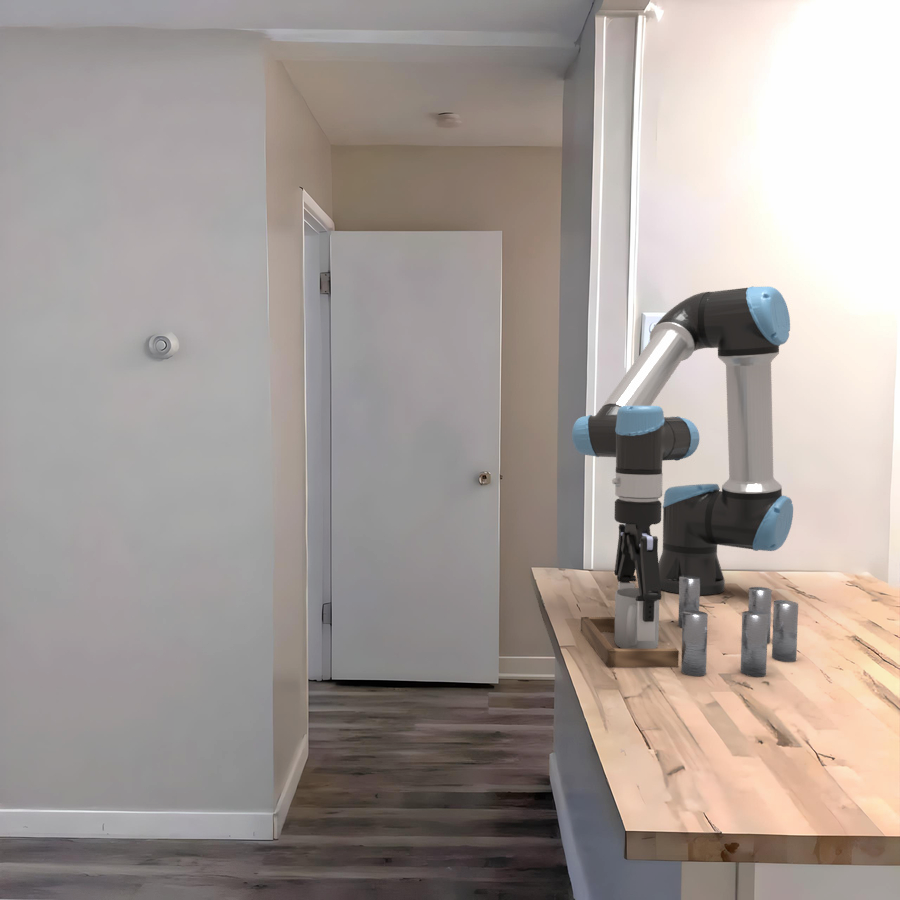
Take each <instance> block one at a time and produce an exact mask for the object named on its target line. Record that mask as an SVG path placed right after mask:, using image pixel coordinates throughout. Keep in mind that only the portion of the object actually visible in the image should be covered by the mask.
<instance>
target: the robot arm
mask: <svg viewBox="0 0 900 900" xmlns="http://www.w3.org/2000/svg"><path fill="white" fill-rule="evenodd" d="M790 317H791V316H790V313H789V309H788V304H787V302H786V301H785V298H784V297H783V294H782V293H781V292H780V291H779V290H778V289H777V288H775V287H773V286H749V287H740V288H734V289H723V290H716V291H706V292H705V291H703V292H698V293H697V294H693V295H692V296H689V297H687V298H686V299H684V300H682V301H680V302H679V303H678V304H676V305H675V306H673V307H672V308H670V310H668V311H667V312H666V313H665V314H664V315H663V316H662V317H661V318H660V319H659V320H658V322H657V323H656V324H655V325H654V327H652V330H651V331H650V334H649V342H648V343H647V344H646V345H645V347H644V349H643V350H642V351H641V353H640V355H638V357H637V359H636V360H635V361H634V363H633V364H632V365H631V367H630V368H629V369H628V371H627V372H626V373H625V375H624V376H623V377H622V378H621V380H620V381H619V383H618V384H617V386H616V387H615V389H614V390H613V391H612V393H610V395H609V396H608V398H607V400H606V401H605V402H604V404H603V405H602V407H601V408H600V409H599V410H598V412H597V413H596V414H595V415H591V414H589V415H585V416H581V417H579V418H578V419H576V420H575V422H574V424H573V426H572V429H571V430H572V431H571V432H572V433H571V440H572V444H573V445H574V448H575V450H576V452H578V453H579V454H580V455H584V456H590V457H591V456H592V457H596V458H599V457H600V458H615V478H613V479H612V480H611V481H612V484H613V485H614V486H615V496H616V497H618V498H617V499H615V501H614V520H615V521H616V522H617V523H619V525H618V541H617V549H616V556H615V564H614V575H615V576H616V580H617V590H619V589H623V588H636V587H635V586H636V585H635V582H637V588H639V594H640V596H637V597H636V601H638V607H637V640H638V641H655V617H656V601H657V600H659V601H660V600H662V591H666V592H669V593H675V594H679V577H680V576H695V577H699V578H700V596H704V595H705V596H706V595H708V596H710V595H717V594H720V593H723V592H724V591H725V585H726V584H725V583H726V582H725V577H724V573H723V570H722V568H721V564H720V561H719V558H718V546H725V547H731V548H739V549H748V550H753V551H756V552H757V551H762V552H765V551H766V552H775V551H777V550H778V549H780V548H781V547H782V546H783V545H784V543H785V542H786V540H787V538H788V537H789V533H790V530H791V528H792V524H793V523H792V522H793V517H794V504H793V501H792V499H791V498H790V497H788V496H787V495H783V493H782V492H783V490H782V487H783V486H782V484H781V483H780V482H778V481H777V480H776V479H775V477H774V447H773V445H774V442H773V396H772V395H773V393H772V387H773V386H772V385H773V384H772V362H773V361H774V359H776V357H777V356H778V355H779V354H780V346H781V345H784V344H785V343H787V342H788V340H789V337H790V331H791V320H790ZM701 349H702V350H703V349H717V358H718V359H719V360H720V361H721V362H722V363H723V364H724V366H725V374H726V375H725V378H726V382H725V383H726V411H727V412H726V413H727V417H726V418H727V443H728V444H727V447H728V449H727V450H728V474H729V475H728V476H729V477H728V479H727V480H726V481H725V482H723V484H722V486H721V490H720V485H719V484H718V483H701V484H688V485H687V484H686V485H678V486H677V485H676V486H670V487H669V488H667V489H666V490H665V492H664V494H663V474H664V473H663V461H664V462H665V461H680V460H683V459H686V458H689V457H690V456H692V455H693V454H694V453H695V452H696V450H698V447H699V444H700V433H699V430H698V427H697V426H696V424H695V423H694V422H693V421H691V420H690V419H687V418H685V417H680V416H668V417H667V416H664V415H665V414H664V410H663V408H662V407H661V406H660V405H653V404H654V402H655V400H656V399H657V398H658V396H659V395H660V393H661V391H662V390H663V389H664V387H665V386H666V384H667V382H668V381H670V380H669V379H670V378H671V377H672V376H673V374H674V372H675V371H676V370H677V367H679V366H680V363H681V362H683V361H685V360H688V359H689V358H690V357H691V356H692V355H693V353H694V352H695V351H698V350H701ZM662 496H663V505H662V502H661V500H659V499H660V498H661V497H662ZM662 510H663V511H662ZM662 512H663V515H662ZM662 517H663V518H662ZM662 519H663V520H662ZM661 521H662V525H663V526H662V551H661V555H660V557H659V555H658V553H659V551H658V546H659V545H658V544H659V543H658V542H659V538H658V536H656V535H655V536H653V535H652V534H651V526H652V525H659V524H660V523H661ZM635 573H636V575H635ZM649 591H651V592H649Z"/></svg>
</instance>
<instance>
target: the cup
mask: <svg viewBox="0 0 900 900" xmlns="http://www.w3.org/2000/svg"><path fill="white" fill-rule="evenodd" d="M649 592H651V591H649ZM637 596H640V594H639V587H635V588H623V589H619V590H618V589H617V590H615V591H614V617H615V632H614V636H613V637H614V644H615V645H616V647H618V648H619V647H620V648H619V649H655V648H658V646H659V633H660V632H659V631H660V630H659V624H660V621H659V619H660V600H657V601H656V617H655V641H638V640H637V607H638V601H636V597H637Z"/></svg>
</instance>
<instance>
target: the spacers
mask: <svg viewBox="0 0 900 900" xmlns="http://www.w3.org/2000/svg"><path fill="white" fill-rule="evenodd" d="M772 591H773V590H772V589H770V588H768V587H762V586H751V587H749V588H748V609H747V610H745V611H743V612H741V638H740V639H741V642H740V643H741V644H740V646H741V647H740V673H741V674H743V675H744V676H748V677H755V678H762V677H763V678H764V677H765V676H766V675H767V660H768V659H767V658H768V655H767V654H768V644H770V643H772V644H771V645H772V646H771V657H772V659H774V660H775V661H779V662H784V663H786V662H787V663H793V662H797V652H798V651H797V649H798V647H797V646H798V625H799V624H798V621H799V603H798V602H796V601H793V600H787V599H777V600H774V601H773V611H772ZM700 596H701V595H700V578H699V577H695V576H680V577H679V593H678V617H677V618H678V621H677V622H678V625H677V626H678V627H680V628H681V660H680V661H681V662H680V663H681V667H680V671H681V673H682V674H684V675H687V676H690V677H691V676H692V677H704V676H706V674H707V659H708V658H707V656H708V655H707V653H708V651H707V650H708V621H709V619H708V613H706V612H704V611H701V610H700V598H701V597H700ZM772 613H773V614H772ZM772 615H773V616H772ZM771 617H773V618H771ZM771 619H772V620H771ZM771 622H772V626H771ZM771 627H772V642H771Z"/></svg>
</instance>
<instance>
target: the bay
mask: <svg viewBox="0 0 900 900" xmlns="http://www.w3.org/2000/svg"><path fill="white" fill-rule="evenodd" d="M580 632H582V634H583V635H584V637H585V638H586V640H587V639H588V640H587V641H588V643H591V644H590V645H591V646H592V648H593V647H594V648H593V649H594V650H595V652H596V651H597V652H596V653H597V655H598V656H599V657H600V658H601V660H602V661H603V663H604V664H605V666H606V667H607V668H665V667H666V668H668V667H669V668H672V667H673V668H674V667H677V668H678V667H679V661H680V659H679V656H680V655H679V654H680V652H679V651H680V650H679V649H677V648H676V647H675V648H671V647H670V648H669V647H668V648H667V647H666V648H659V647H657V648H655V649H622V648H614V647H613V646H612V644H611V643H610V642H609V640H608V639H607V638H606V637H605V636H604V635H603V634H602V633H615V616H581V617H580Z"/></svg>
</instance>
